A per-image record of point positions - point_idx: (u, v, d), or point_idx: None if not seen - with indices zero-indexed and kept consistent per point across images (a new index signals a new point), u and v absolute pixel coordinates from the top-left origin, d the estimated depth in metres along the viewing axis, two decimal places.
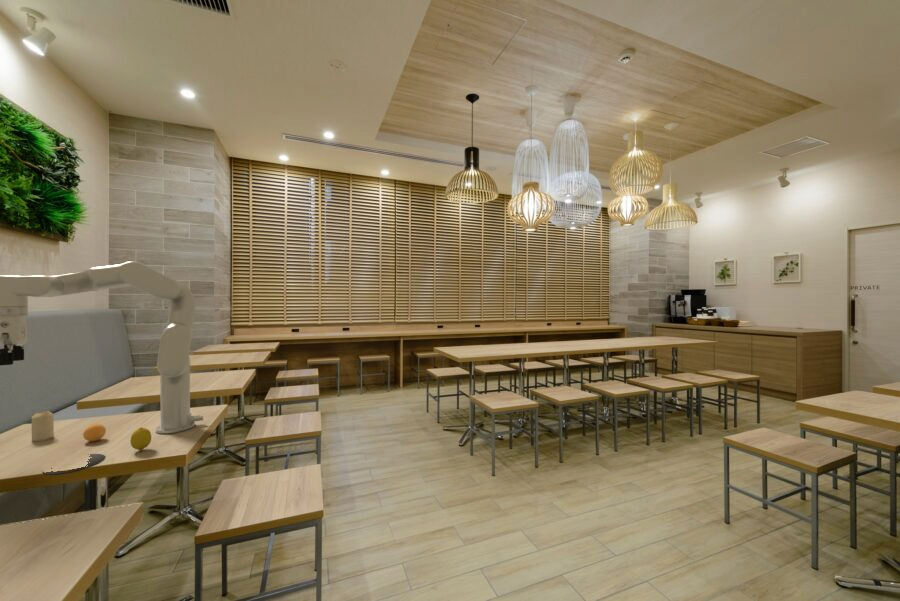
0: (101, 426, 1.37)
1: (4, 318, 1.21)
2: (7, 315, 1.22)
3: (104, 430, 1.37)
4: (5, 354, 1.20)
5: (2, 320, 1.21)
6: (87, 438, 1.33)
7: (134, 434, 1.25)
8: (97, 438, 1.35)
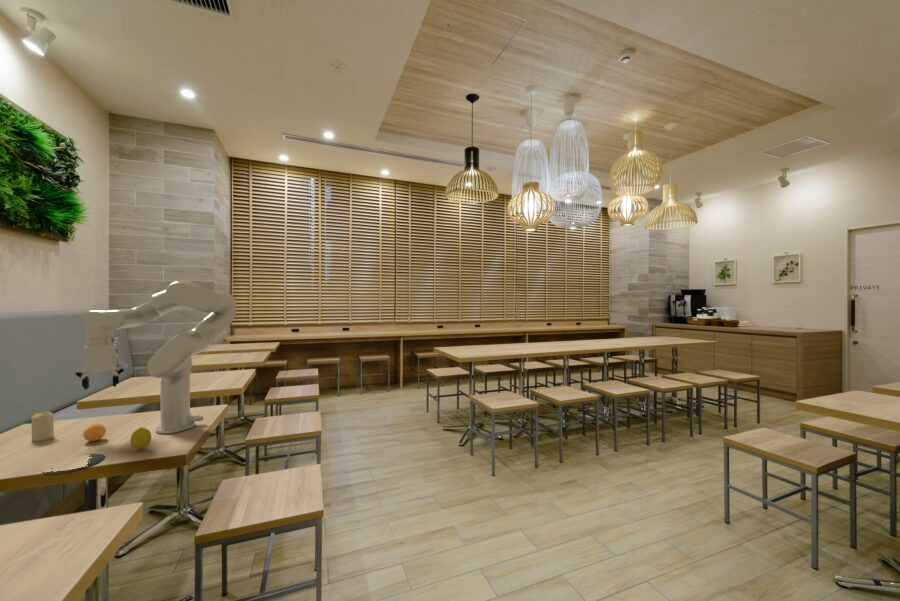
0: (101, 426, 1.37)
1: (114, 345, 1.46)
2: None
3: (104, 430, 1.37)
4: (118, 376, 1.47)
5: (115, 347, 1.46)
6: (87, 438, 1.33)
7: (134, 434, 1.25)
8: (97, 438, 1.35)
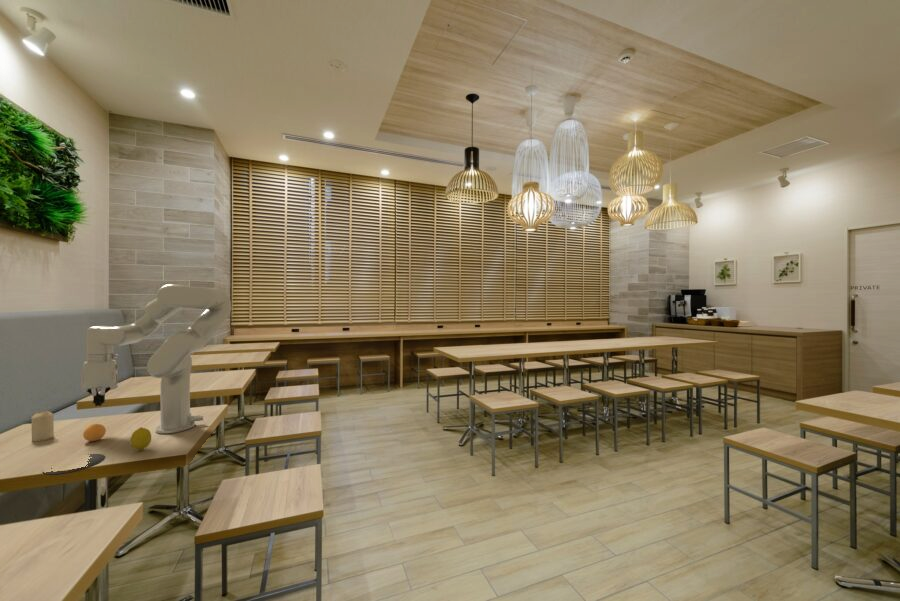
0: (101, 426, 1.37)
1: (114, 361, 1.46)
2: (112, 359, 1.46)
3: (104, 430, 1.37)
4: (104, 395, 1.45)
5: (115, 364, 1.46)
6: (87, 438, 1.33)
7: (134, 434, 1.25)
8: (97, 438, 1.35)
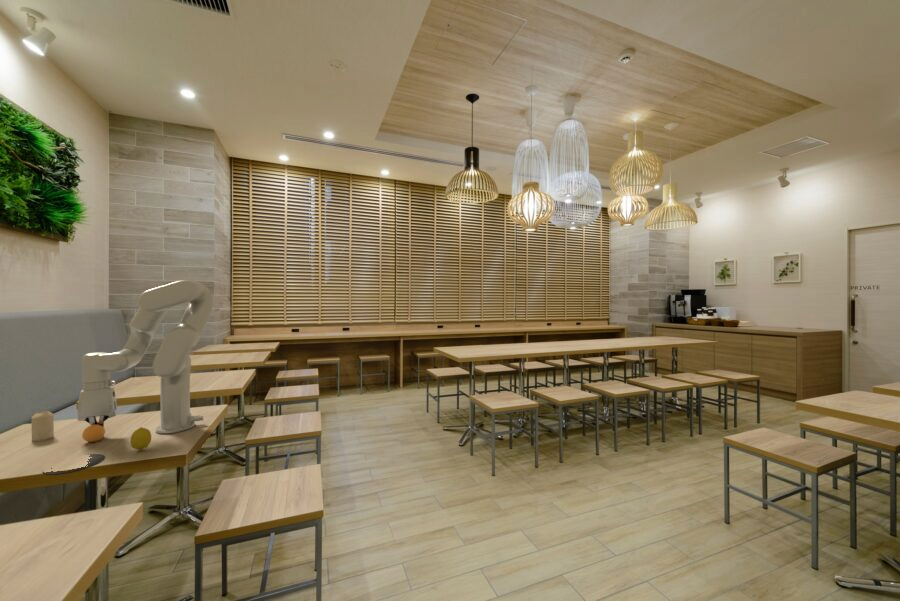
0: (100, 427, 1.36)
1: (111, 388, 1.41)
2: (110, 386, 1.41)
3: (103, 431, 1.36)
4: (103, 423, 1.40)
5: (112, 391, 1.41)
6: (86, 439, 1.33)
7: (134, 434, 1.25)
8: (96, 439, 1.35)
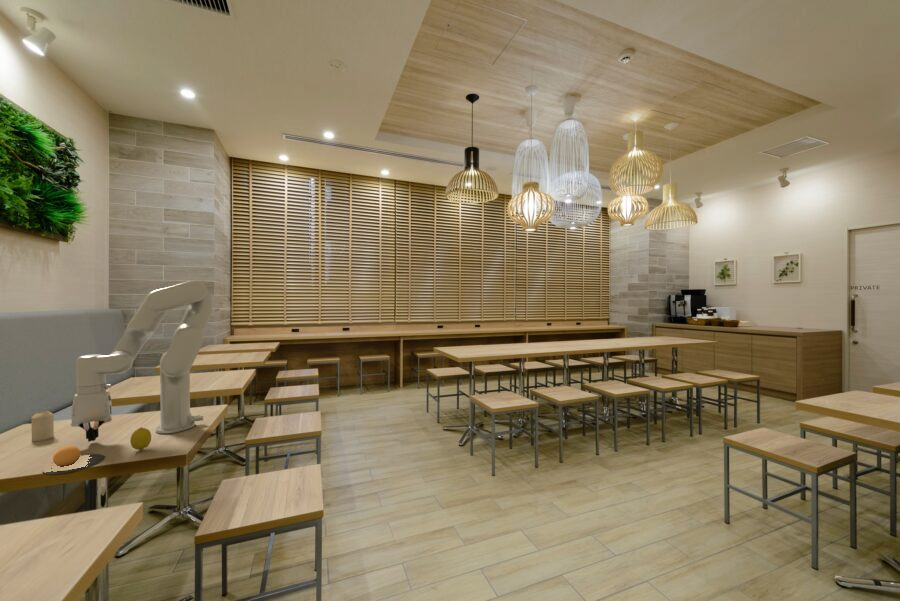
0: (72, 454, 1.15)
1: (107, 392, 1.35)
2: (105, 390, 1.36)
3: (78, 455, 1.17)
4: None
5: (108, 395, 1.35)
6: None
7: (134, 434, 1.25)
8: (73, 463, 1.17)
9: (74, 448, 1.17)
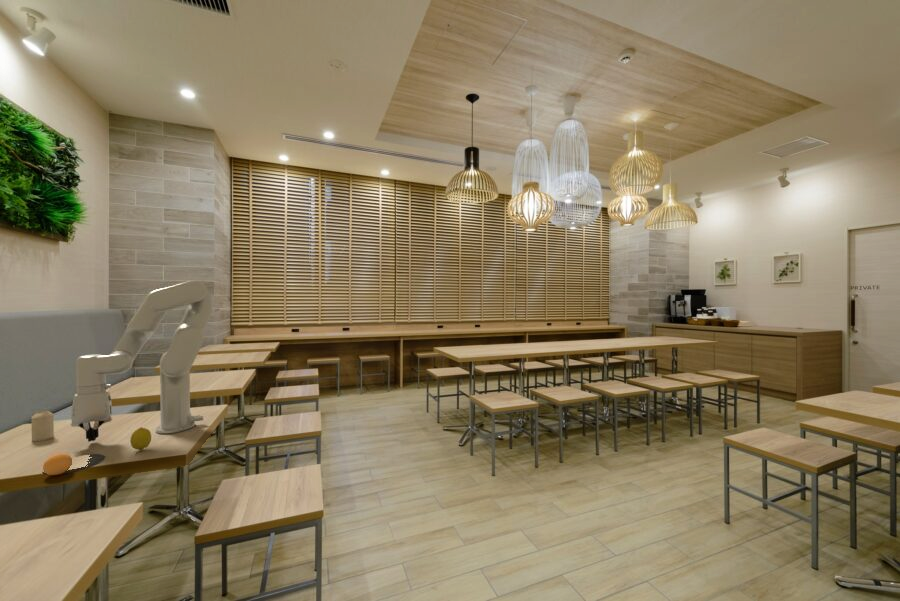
0: (67, 469, 1.12)
1: (107, 392, 1.35)
2: (105, 390, 1.36)
3: (71, 463, 1.12)
4: None
5: (108, 395, 1.35)
6: None
7: (134, 434, 1.25)
8: None
9: (63, 469, 1.10)
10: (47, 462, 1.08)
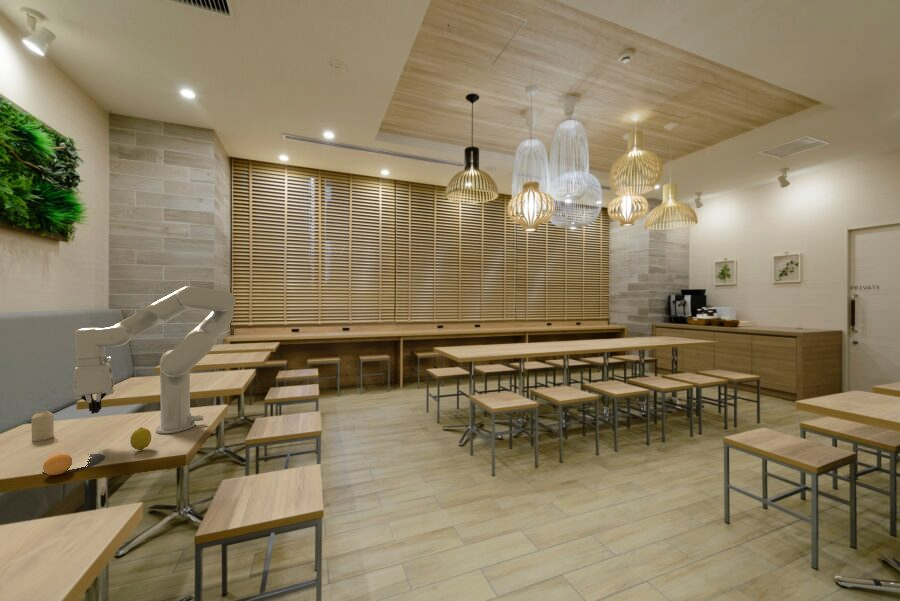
0: (67, 469, 1.12)
1: (107, 365, 1.35)
2: None
3: (71, 463, 1.12)
4: (100, 401, 1.35)
5: (108, 367, 1.35)
6: None
7: (134, 434, 1.25)
8: None
9: (63, 469, 1.10)
10: (47, 462, 1.08)
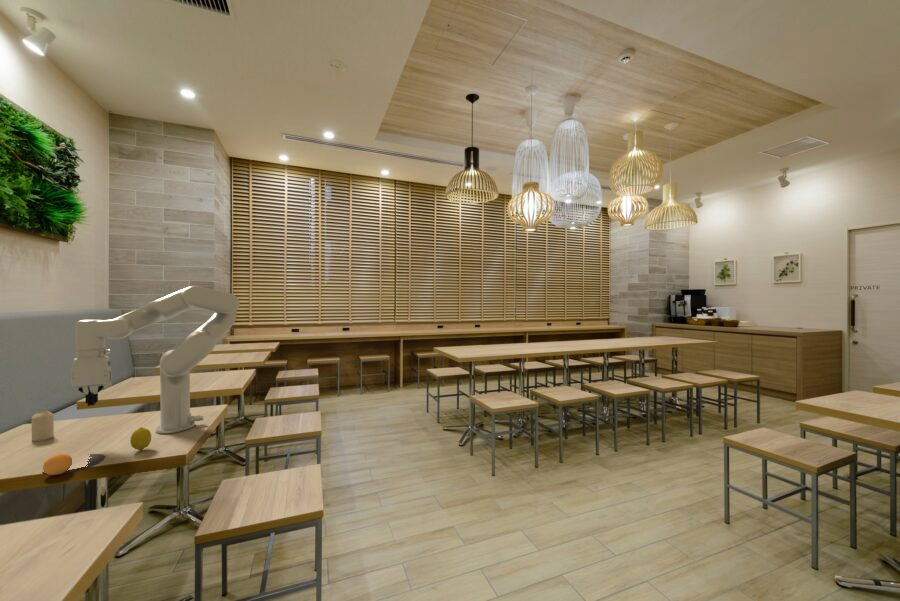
0: (67, 469, 1.12)
1: (106, 357, 1.35)
2: None
3: (71, 463, 1.12)
4: (97, 393, 1.34)
5: (107, 360, 1.35)
6: None
7: (134, 434, 1.25)
8: None
9: (63, 469, 1.10)
10: (47, 462, 1.08)
